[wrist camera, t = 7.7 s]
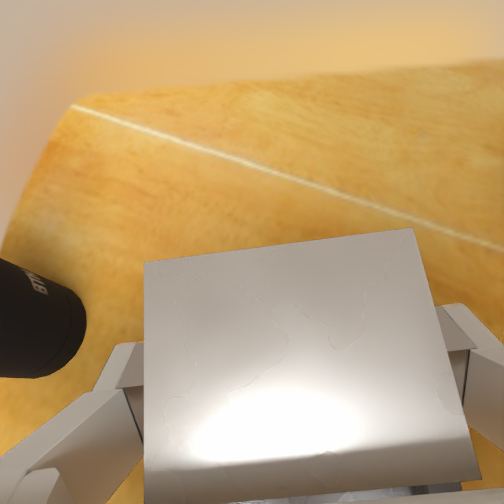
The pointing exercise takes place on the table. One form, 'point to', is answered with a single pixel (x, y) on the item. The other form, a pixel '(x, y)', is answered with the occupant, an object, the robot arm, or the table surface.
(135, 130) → the table surface
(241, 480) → the block
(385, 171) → the table surface
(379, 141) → the table surface
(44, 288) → the black water bottle
